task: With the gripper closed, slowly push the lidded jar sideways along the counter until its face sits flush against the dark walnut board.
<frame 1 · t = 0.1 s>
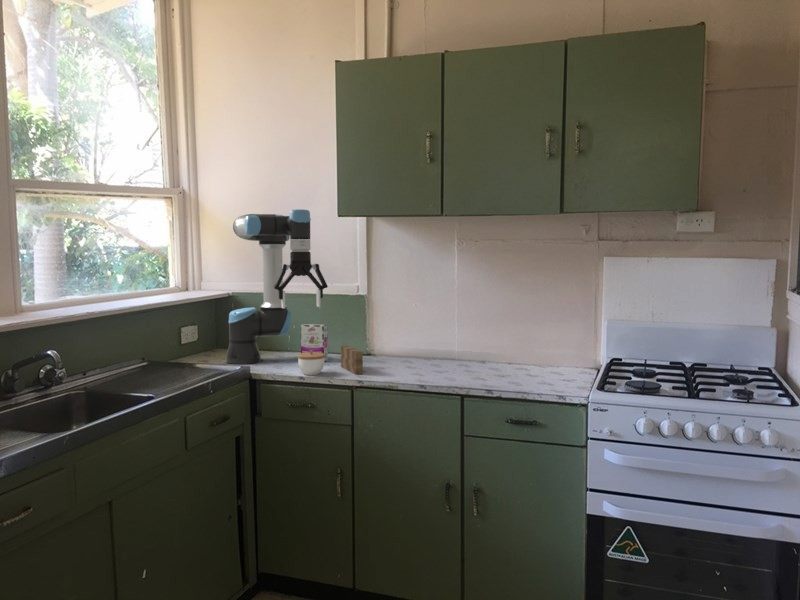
hand: (301, 307, 245), 28 cm above the countertop, tool pointing down, fingers open, 13 cm apart
board: (351, 370, 267), on the countertop
candy bar box: (314, 361, 288), on the countertop
lidded jar: (311, 374, 260), on the countertop
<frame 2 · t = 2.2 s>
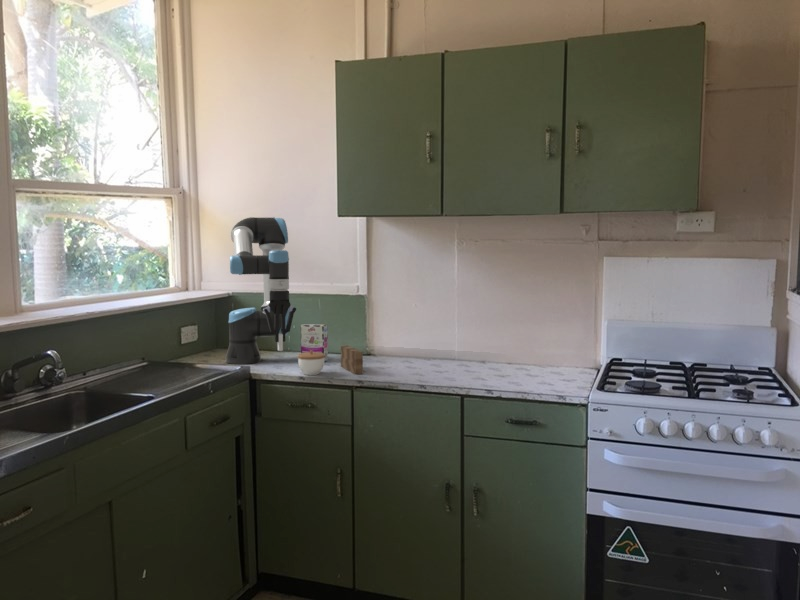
hand: (280, 350, 254), 10 cm above the countertop, tool pointing down, fingers closed
nothing on the countertop moved.
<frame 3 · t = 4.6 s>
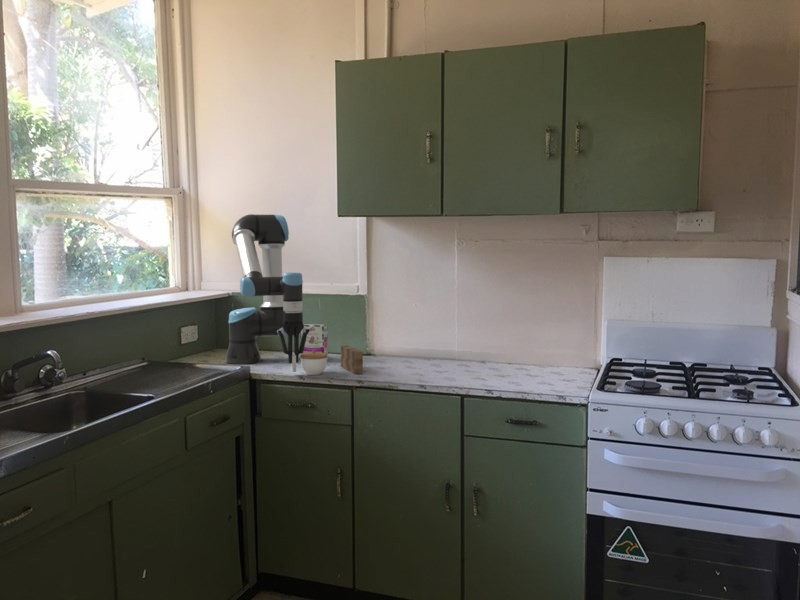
hand: (293, 371, 256), 2 cm above the countertop, tool pointing down, fingers closed
lidded jar: (313, 373, 260), on the countertop, touching gripper
everything else where it was.
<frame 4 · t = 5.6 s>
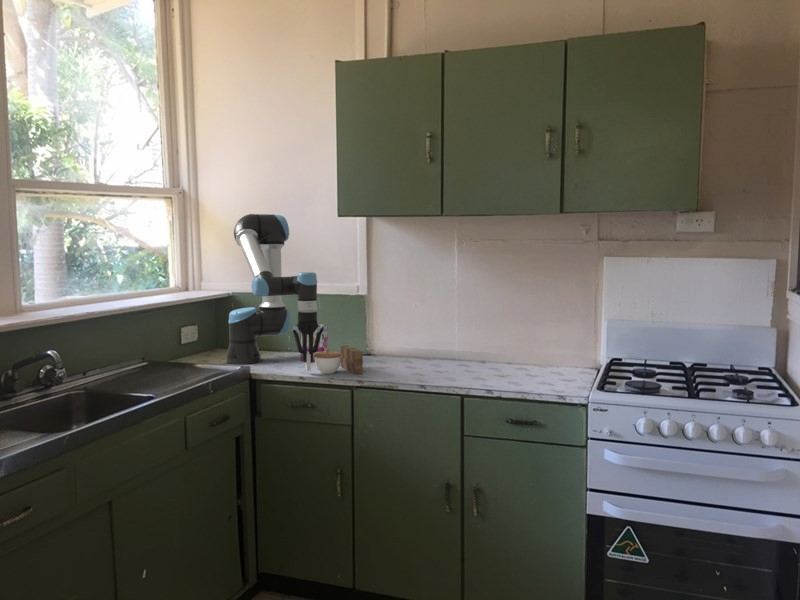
hand: (307, 370, 259), 2 cm above the countertop, tool pointing down, fingers closed
lidded jar: (327, 372, 263), on the countertop, touching gripper
everything else where it was.
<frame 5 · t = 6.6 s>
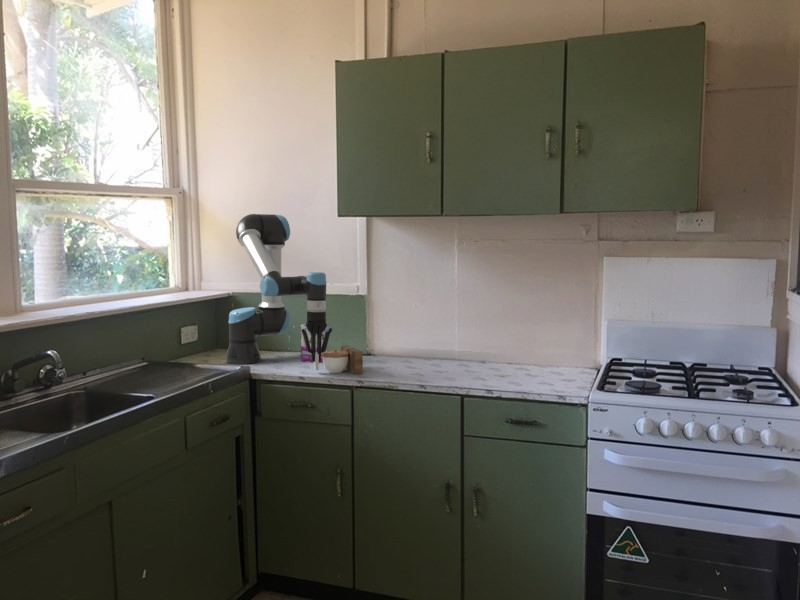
hand: (316, 369, 260), 2 cm above the countertop, tool pointing down, fingers closed
lidded jar: (335, 372, 264), on the countertop, touching board, gripper
everything else where it was.
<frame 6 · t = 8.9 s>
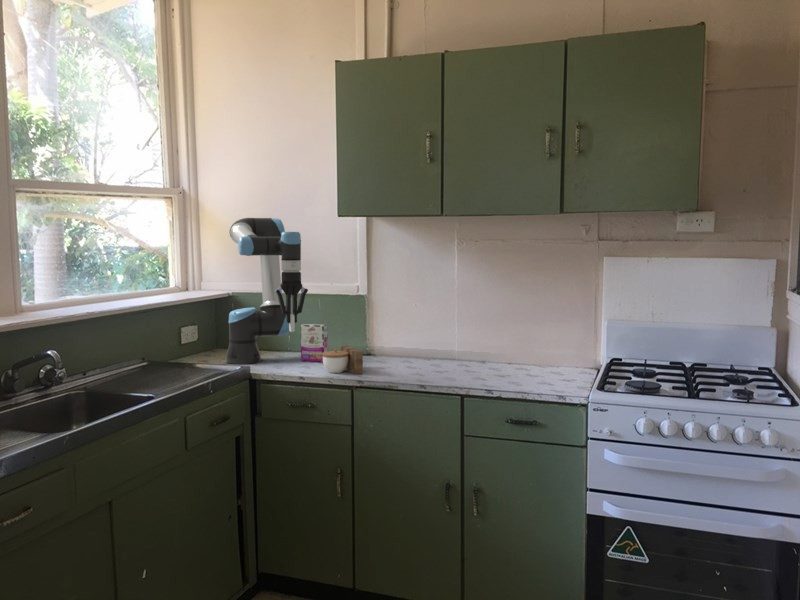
hand: (291, 331, 256), 18 cm above the countertop, tool pointing down, fingers closed
lidded jar: (335, 372, 264), on the countertop, touching board
everything else where it was.
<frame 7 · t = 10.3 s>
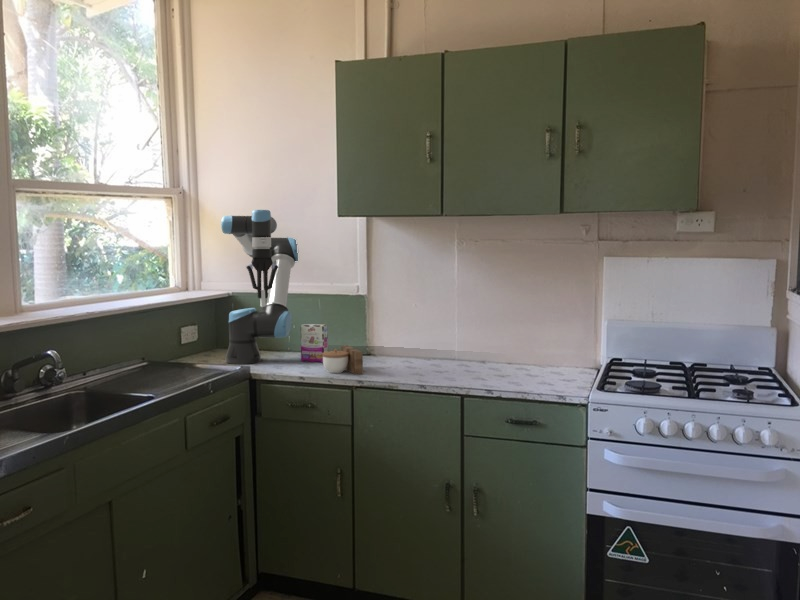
hand: (262, 306, 264), 26 cm above the countertop, tool pointing down, fingers closed
lidded jar: (335, 372, 264), on the countertop
everything else where it was.
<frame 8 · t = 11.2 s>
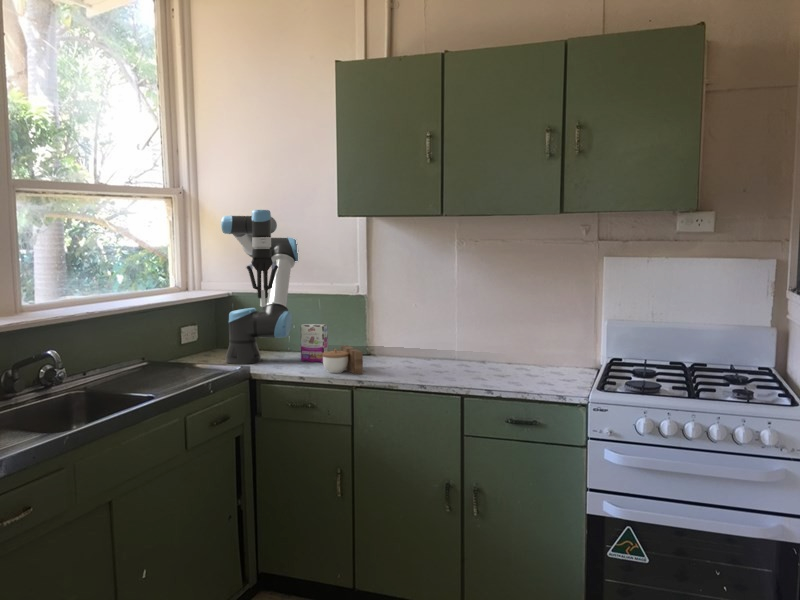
hand: (262, 306, 264), 26 cm above the countertop, tool pointing down, fingers closed
nothing on the countertop moved.
at the end: lidded jar inside the target area on the countertop beside the board (0.1 cm from its centre), on the countertop; lidded jar tilted 0° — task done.
